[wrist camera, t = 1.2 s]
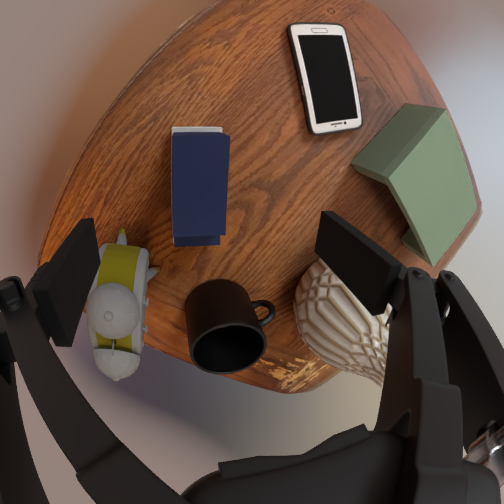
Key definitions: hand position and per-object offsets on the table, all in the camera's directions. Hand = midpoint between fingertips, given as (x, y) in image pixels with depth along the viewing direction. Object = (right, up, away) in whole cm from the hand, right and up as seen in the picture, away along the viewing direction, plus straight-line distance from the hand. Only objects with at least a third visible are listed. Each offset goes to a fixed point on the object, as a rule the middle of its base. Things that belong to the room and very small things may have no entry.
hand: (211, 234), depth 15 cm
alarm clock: (-13, -3, +18) cm, 22 cm away
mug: (-2, -8, +24) cm, 26 cm away
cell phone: (+11, +20, +12) cm, 26 cm away
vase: (+14, -5, +27) cm, 31 cm away
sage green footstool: (+27, +11, +22) cm, 37 cm away
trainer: (-4, +7, +15) cm, 17 cm away
